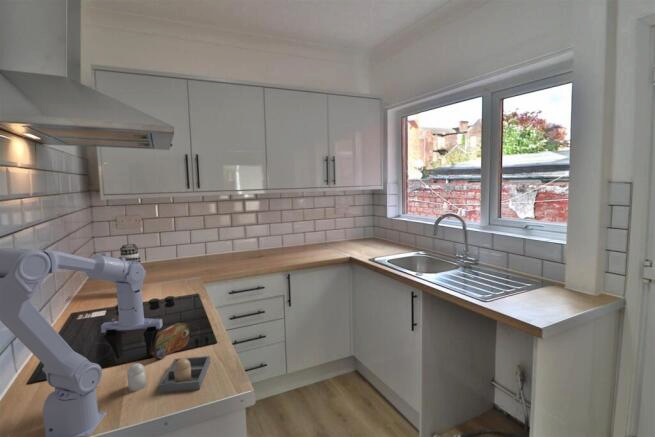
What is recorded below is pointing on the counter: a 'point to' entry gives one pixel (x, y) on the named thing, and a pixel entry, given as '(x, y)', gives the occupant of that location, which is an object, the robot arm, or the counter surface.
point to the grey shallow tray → (197, 374)
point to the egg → (136, 377)
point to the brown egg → (182, 370)
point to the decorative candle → (130, 252)
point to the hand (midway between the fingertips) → (134, 355)
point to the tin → (171, 340)
